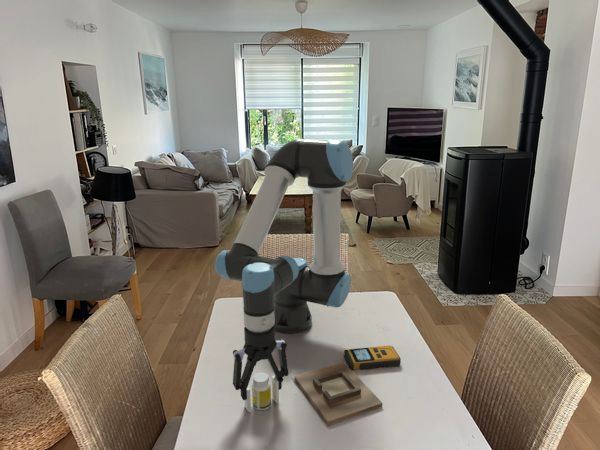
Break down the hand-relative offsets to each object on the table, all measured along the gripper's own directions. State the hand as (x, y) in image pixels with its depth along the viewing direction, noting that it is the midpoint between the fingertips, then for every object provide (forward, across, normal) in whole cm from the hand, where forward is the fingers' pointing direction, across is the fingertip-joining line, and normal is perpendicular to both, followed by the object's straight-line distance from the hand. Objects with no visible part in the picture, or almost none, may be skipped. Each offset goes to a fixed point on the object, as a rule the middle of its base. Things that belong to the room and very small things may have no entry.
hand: (261, 403), depth 115 cm
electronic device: (+1, +37, +4) cm, 37 cm away
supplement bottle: (+1, 0, 0) cm, 1 cm away
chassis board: (0, +20, -4) cm, 20 cm away
